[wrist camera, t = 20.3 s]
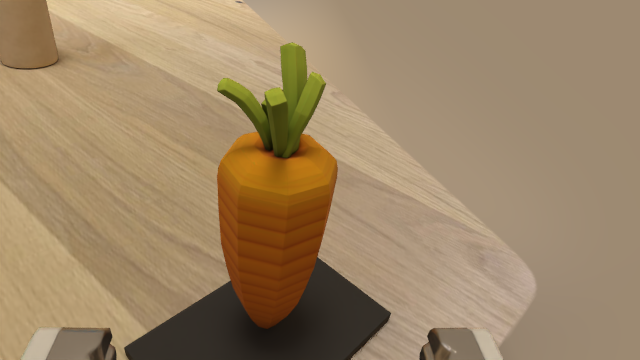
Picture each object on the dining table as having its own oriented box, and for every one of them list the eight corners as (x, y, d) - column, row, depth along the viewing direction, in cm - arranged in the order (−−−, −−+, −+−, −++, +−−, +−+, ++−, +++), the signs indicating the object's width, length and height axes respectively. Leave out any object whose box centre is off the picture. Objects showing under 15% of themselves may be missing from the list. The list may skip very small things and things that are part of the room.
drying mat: (224, 484, 18) (224, 478, 17) (125, 354, 22) (123, 347, 21) (389, 319, 25) (391, 313, 25) (294, 246, 29) (295, 239, 29)
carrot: (272, 387, 21) (307, 99, 12) (198, 330, 23) (183, 48, 14) (328, 319, 24) (385, 60, 16) (260, 275, 26) (278, 24, 18)
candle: (57, 68, 47) (35, -31, 41) (-3, 69, 45) (-36, -35, 39) (60, 50, 51) (40, -43, 45) (4, 51, 49) (-24, -47, 43)
